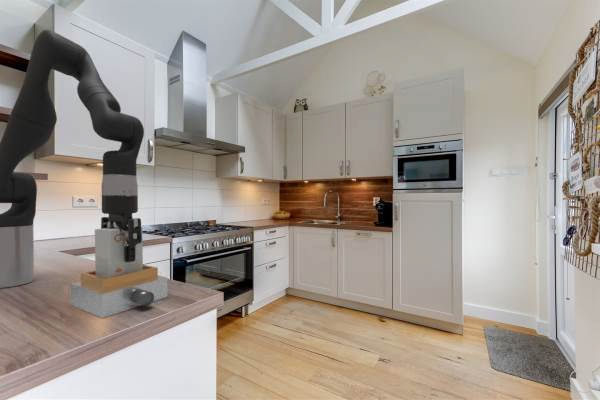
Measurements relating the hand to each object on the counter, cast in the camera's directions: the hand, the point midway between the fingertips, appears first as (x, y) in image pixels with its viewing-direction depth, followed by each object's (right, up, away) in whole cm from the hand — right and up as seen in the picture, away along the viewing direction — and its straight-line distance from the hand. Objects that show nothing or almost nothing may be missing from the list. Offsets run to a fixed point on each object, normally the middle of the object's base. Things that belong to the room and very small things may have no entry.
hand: (120, 259), depth 70 cm
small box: (0, -5, 0) cm, 5 cm away
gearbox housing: (+2, -10, -1) cm, 10 cm away
